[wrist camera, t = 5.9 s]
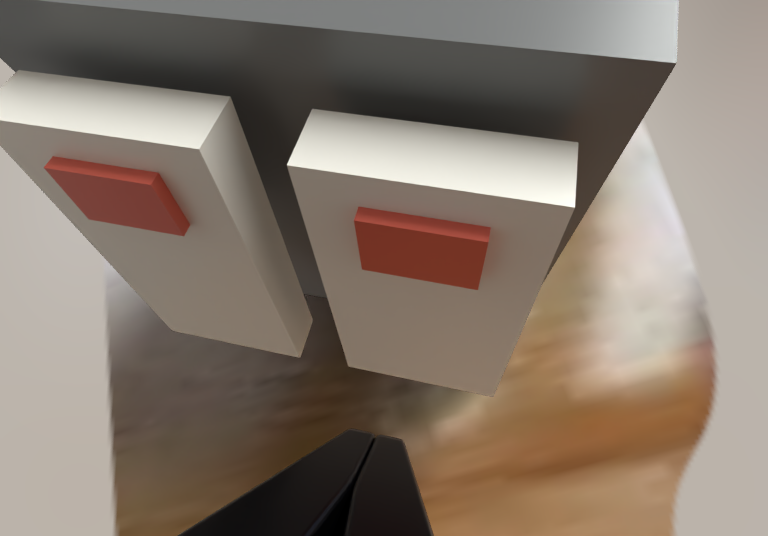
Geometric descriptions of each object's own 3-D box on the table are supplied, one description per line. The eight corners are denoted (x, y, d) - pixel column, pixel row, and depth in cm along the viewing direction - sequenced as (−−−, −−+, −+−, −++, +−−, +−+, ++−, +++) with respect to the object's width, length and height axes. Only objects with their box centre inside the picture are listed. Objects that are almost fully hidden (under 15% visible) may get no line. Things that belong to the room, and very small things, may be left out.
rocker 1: (296, 366, 14) (190, 162, 7) (167, 338, 15) (-39, 127, 8) (312, 320, 15) (230, 96, 8) (189, 296, 15) (18, 69, 9)
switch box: (512, 333, 19) (676, 63, 6) (243, 282, 21) (-74, -11, 8) (528, 216, 21) (685, -194, 8) (277, 178, 23) (62, -207, 10)
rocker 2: (491, 407, 13) (574, 224, 6) (345, 375, 14) (280, 179, 7) (498, 355, 14) (578, 142, 7) (359, 327, 15) (312, 109, 8)
